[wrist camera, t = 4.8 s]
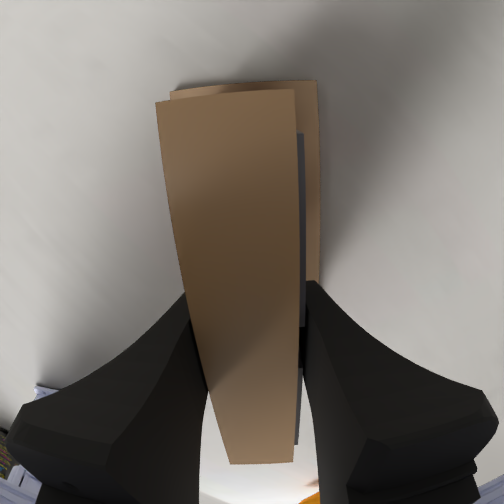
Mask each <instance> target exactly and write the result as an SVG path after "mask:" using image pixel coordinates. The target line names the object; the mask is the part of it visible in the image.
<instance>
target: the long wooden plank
mask: <svg viewBox="0 0 504 504" xmlns="http://www.w3.org/2000/svg"><path fill="white" fill-rule="evenodd" d="M155 104H156V113H157V123H158V131H159V139H160V147H161V155H162V163H163V170H164V177H165V184H166V190H167V197H168V203H169V209H170V215H171V221H172V227H173V233H174V238H175V244H176V249H177V255H178V260H179V265H180V270H181V275H182V280H183V285H184V290H185V295H186V299H187V304H188V308H189V313H190V317H191V322H192V326H193V331H194V335H195V339H196V343H197V347H198V352H199V356H200V360H201V364H202V368H203V372H204V375H205V379H206V383H207V387H208V391H209V394H210V398H211V402H212V405H213V409H214V412H215V416H216V419H217V423H218V426H219V430H220V433H221V436H222V440H223V443H224V446H225V449H226V453H227V456H228V459H229V462H230V464H271V463H287V462H293V454H294V445H298V437H299V424H300V410H301V395H302V378H303V364H302V358H301V352H300V347H299V327H305V302H306V181H305V149H304V133H302V132H300V131H299V130H297V129H296V115H295V98H294V89H278V90H258V91H243V92H231V93H221V94H211V95H203V96H195V97H188V98H181V99H174V100H168V101H162V102H156V103H155Z"/></svg>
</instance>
